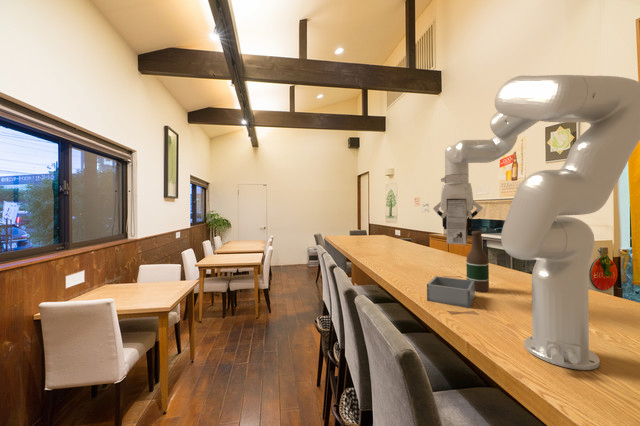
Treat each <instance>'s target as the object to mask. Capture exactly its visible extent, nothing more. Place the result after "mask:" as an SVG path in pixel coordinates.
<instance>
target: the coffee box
mask: <svg viewBox="0 0 640 426" xmlns="http://www.w3.org/2000/svg"><path fill="white" fill-rule="evenodd" d="M446 200H447V229H446V244H448V245H449V244H450V245H467V243H468V230H467V219H468V216H467V200H466V199H460V198H453V199H446Z"/></svg>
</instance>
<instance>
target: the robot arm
mask: <svg viewBox="0 0 640 426" xmlns="http://www.w3.org/2000/svg"><path fill="white" fill-rule="evenodd" d="M494 107H495V109H496V111H497V112H495V113H494V114H493V116H491V119H490V121H489V126H490V130H491V132H492V133H493V134H494V135H495V136H494V137H492V138H490V139H462V140H459V141H457V142H456V143H454V145H450V146H449V145H448V146H447V147H446V148H445V150H444V177H441V179H440V182H441V183H442V182H443V183H444V184H442V186H441V193H440V194H441V195H440V201H439V203H437V204H436V205H435V206H434V207H433V208H432V209H433V210H434V212H435V213H436V214H437V215H438V216H439V217H441V219H442V228H443V230H447V200H446V199H453V198H460V199H466V200H467V231H470V230H471V228H473V219H474V217H476V216H477V215H478V214H479V213H481V211H482V210H483V209H484V208H483V206H481V204H479V203H478V202H476V201H475V200H474V195H473V187H472V183H470V181H469V174H470V173H469V164H477V163H478V164H482V163H483V164H485V163H486V164H487V163H488V164H489V163H491V162H494V161H497V160H499V159H500V158H502V157H503V156H505V155H506V154H508V153H509V152H511V151H512V149H513V148H514V146H515V145H516V143H517V140H518V136H519V135H521V134H522V133H524V132H525V131H526V130H528V129H530V128H531V127H533V126H534V125H535V124H537V123H539V122H545V123H587V124H589V125H590V126H589V128H588V129H586V130H585V131H584V132H583V133H582V134H581V135H580V136H578V138H577V139H576V140H575V142H574V143H573V144H572V145H571V147H570V149H569V152H568V155H567V157H566V159H565V160H564V163H563V164H562V166H561V168H560V169H544V170H538V171H535V172H534V173H532V174H529V175H528V176H526V177H525V178H524V179H523V180H522V181H521V183H520V184H519V185H518V186H517V189H516V191H515V194H514V195H513V198H512V201H511V204H510V205H509V209H508V211H507V214H506V217H505V220H504V222H503V226H502V229H501V235H500V239H501V240H500V241H501V245H502V248H503V250H504V251H505V253H506V254H508V255H509V256H511V257H512V258H514V259H516V260H521V261H535V263H534V266H533V269H532V273H531V308H532V310H531V311H532V313H531V314H532V315H531V316H532V317H531V318H532V319H531V320H532V321H531V322H532V325H531V326H532V336H529V337H527V338H525V340H524V348H525V349H526V350H527V351H528V352H529V353H530V354H532V355H533V356H535V357H537V358H539V359H540V360H543V361H545V362H548V363H550V364H553V365H556V366H560V367H562V368H567V369H572V370H578V371H591V370H596V369H597V368H599V367H600V364H601V363H600V362H601V361H600V357H599V356H598V355H597V354H596V353H594V351H592V350H590V326H589V325H590V324H589V322H590V321H589V320H590V319H589V318H590V317H589V313H590V311H589V289H590V287H589V274H590V265H591V259H592V256H593V252H594V247H595V234H594V233H593V230H592V228H591V227H590V226H589V225H588V224H587V223H586V222H584V221H583V220H581V219H579V218H576V217H572V216H582V215H583V216H584V215H590V214H593V213H596V212H598V211H600V210H601V209H602V208H603V207H604V206H605V204H606V203H607V201H608V200H609V198H610V196H611V194H612V192H613V191H614V189H615V186H617V183H618V182H619V179H620V177H621V175H622V174H623V171H624V170H625V168H626V167H627V164H628V163H629V160H630V158H631V156H632V154H633V152H634V151H635V149H636V147H637V146H638V144H639V143H640V81H639V80H635V79H631V78H629V77H628V78H627V77H623V76H613V75H588V74H587V75H584V74H582V75H581V74H553V75H552V74H551V75H550V74H549V75H548V74H547V75H517V76H515V77H511V78H510V79H508V80H507V81H506V82H504V83H503V84H502V86H501V87H500V88H499V89H498V91H497V93H496V94H495V98H494ZM474 207H475V208H476V209H475V210H474V211H473V212H472V210H473V209H474Z"/></svg>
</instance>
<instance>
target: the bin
mask: <svg viewBox="0 0 640 426" xmlns="http://www.w3.org/2000/svg"><path fill="white" fill-rule="evenodd" d="M475 293H476V292H475V285H474V281H472V280H467V279H464V278H463V279H461V278H454V277H445V276H439V275H435V276H434V277H433V278H431V280H430V281H429V282H427V284H426V300H427V301H428V302H433V303H439V304H446V305H450V306H455V307H462V308H466V309H471V307H472V305H473V302H474V299H475V295H476V294H475Z"/></svg>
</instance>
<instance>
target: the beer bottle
mask: <svg viewBox="0 0 640 426" xmlns="http://www.w3.org/2000/svg"><path fill="white" fill-rule="evenodd" d="M482 234H483V232H482V231H480V230H473V231H471V249H470V251H469V253H468V254H467V256H466V260H465V261H466V263H465V264H466V280H472V281H474V285H475V291H476V292H475V293H486V292H489V289H490V277H489V275H490V272H489V268H490V267H489V258H488V255H487V254H486V252H485V251H484V248H483V240H482V239H483V237H482Z"/></svg>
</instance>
